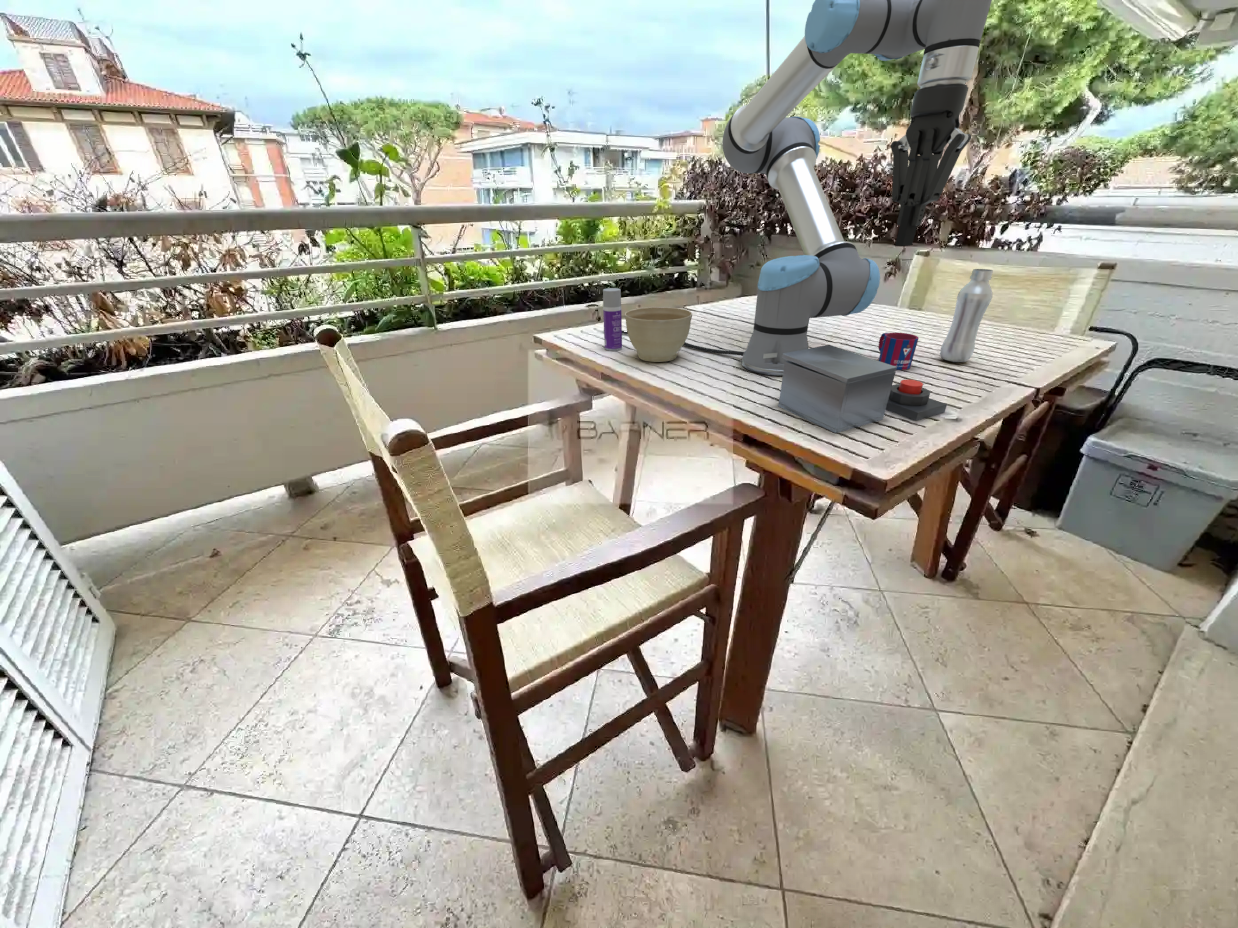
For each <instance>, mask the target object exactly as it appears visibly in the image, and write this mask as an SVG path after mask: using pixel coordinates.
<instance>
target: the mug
mask: <svg viewBox="0 0 1238 928" xmlns="http://www.w3.org/2000/svg"><path fill="white" fill-rule="evenodd" d="M918 343H919V336H918V335H916V334H911V333H907V332H884V333H883V332H882V334H881V335H880V337H879V339H878V351H879V357H878V361H880V362H883V363H886V364H889V365H892V366H895V367H897V369H896V371H905V370H910V369H911V367H912V364H913V359H914V357H915V353H916V349H917V346H918Z"/></svg>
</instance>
